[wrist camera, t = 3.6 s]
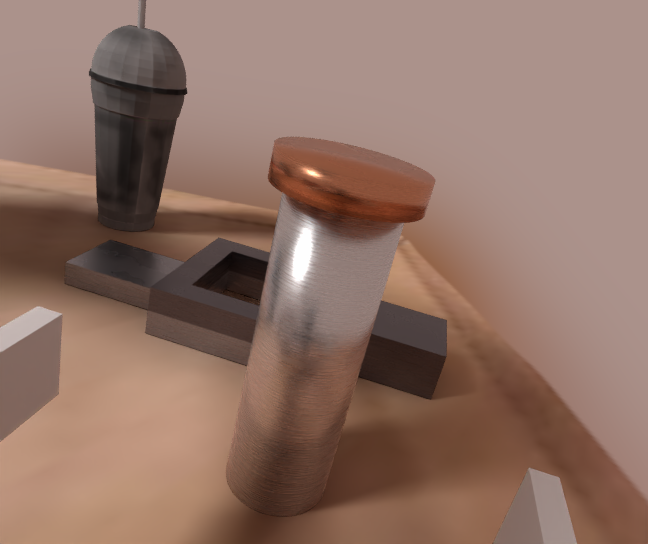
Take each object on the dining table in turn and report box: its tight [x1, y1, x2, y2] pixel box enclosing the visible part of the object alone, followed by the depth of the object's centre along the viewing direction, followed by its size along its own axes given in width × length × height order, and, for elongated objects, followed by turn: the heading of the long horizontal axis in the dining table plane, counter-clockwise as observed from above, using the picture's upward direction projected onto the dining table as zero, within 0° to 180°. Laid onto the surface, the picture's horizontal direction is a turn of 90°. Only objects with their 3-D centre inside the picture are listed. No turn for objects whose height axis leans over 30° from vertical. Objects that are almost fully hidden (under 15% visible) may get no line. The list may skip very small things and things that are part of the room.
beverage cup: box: [89, 0, 187, 231], centre depth 43 cm, size 7×7×20 cm
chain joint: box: [65, 238, 447, 399], centre depth 35 cm, size 24×10×3 cm, turn 77°
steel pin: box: [226, 137, 435, 516], centre depth 21 cm, size 6×6×14 cm
